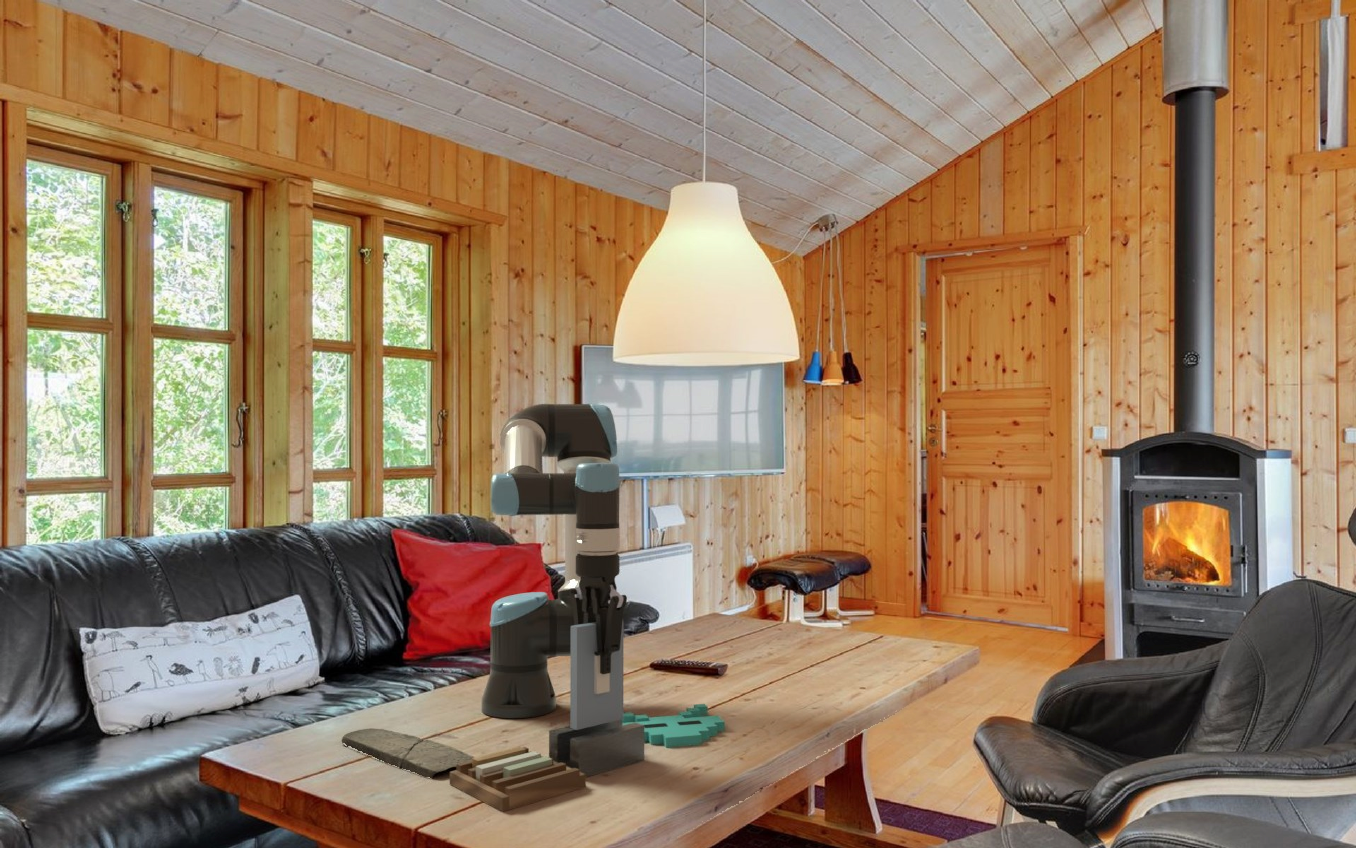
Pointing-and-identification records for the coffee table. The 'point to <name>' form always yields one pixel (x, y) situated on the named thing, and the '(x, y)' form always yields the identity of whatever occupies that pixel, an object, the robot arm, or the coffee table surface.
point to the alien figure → (678, 727)
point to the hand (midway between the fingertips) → (597, 690)
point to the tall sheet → (583, 700)
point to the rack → (517, 784)
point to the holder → (598, 746)
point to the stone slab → (406, 751)
